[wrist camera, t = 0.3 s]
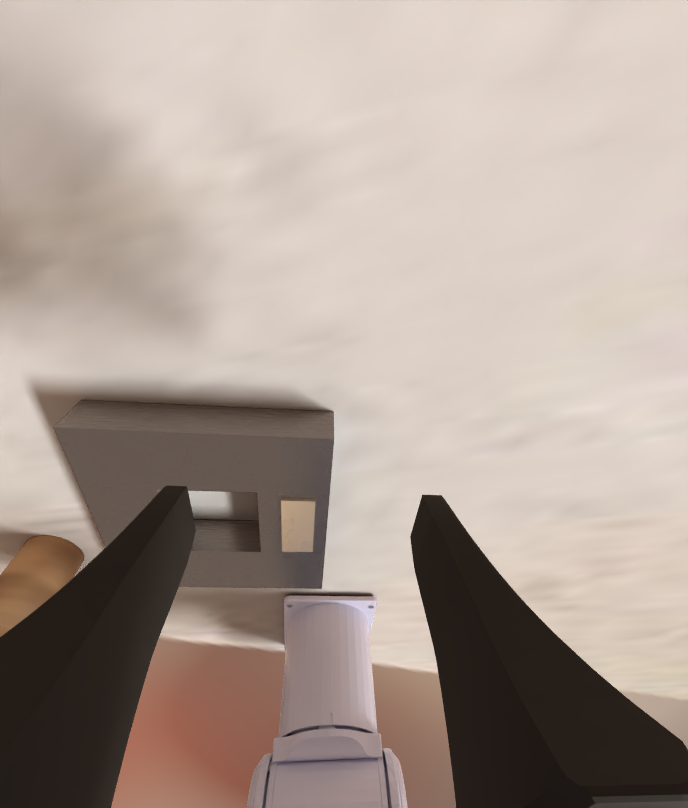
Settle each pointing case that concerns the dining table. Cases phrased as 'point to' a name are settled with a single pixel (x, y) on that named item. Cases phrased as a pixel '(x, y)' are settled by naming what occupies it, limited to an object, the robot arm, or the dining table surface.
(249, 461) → the plate
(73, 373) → the dining table surface
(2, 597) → the peg
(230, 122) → the dining table surface
